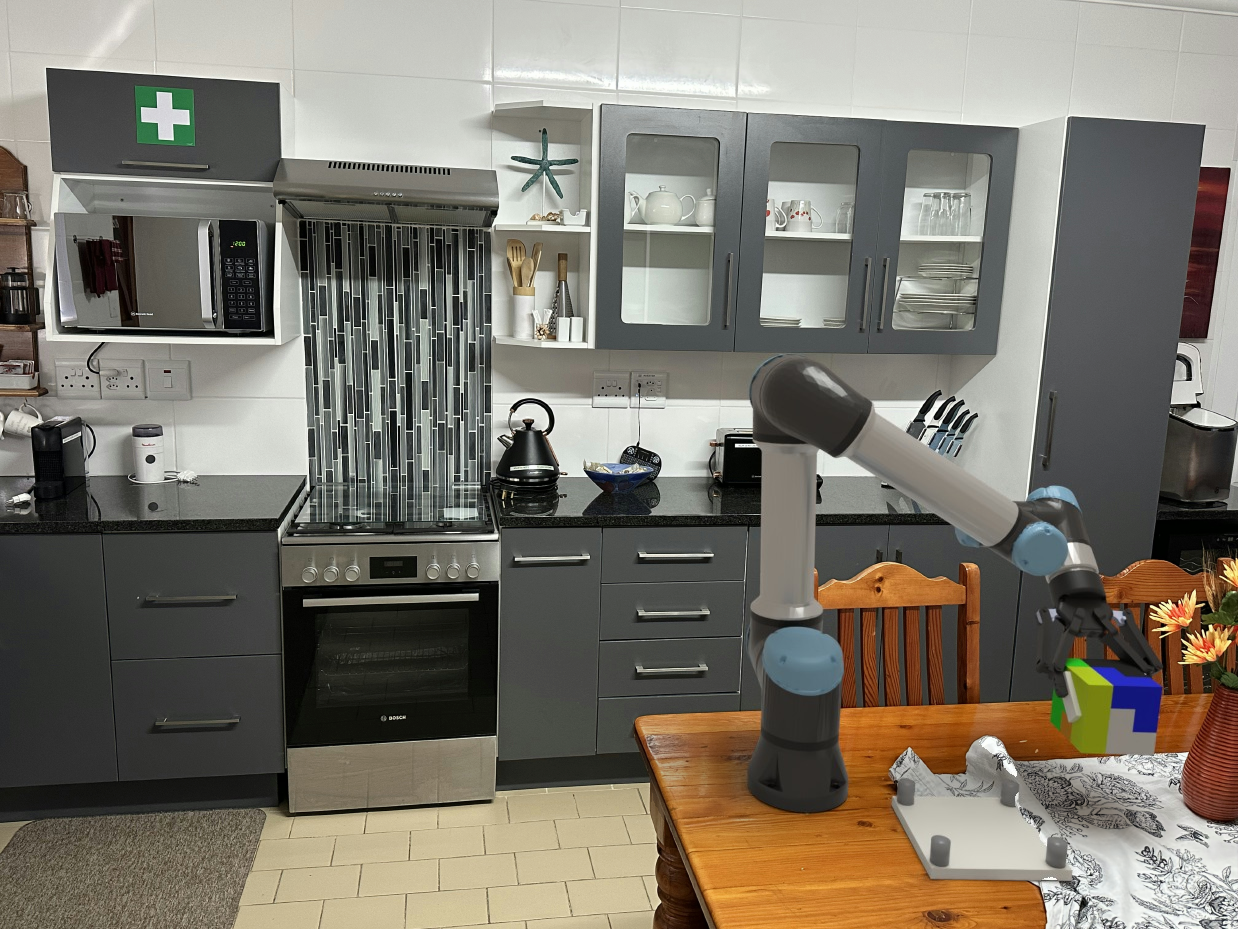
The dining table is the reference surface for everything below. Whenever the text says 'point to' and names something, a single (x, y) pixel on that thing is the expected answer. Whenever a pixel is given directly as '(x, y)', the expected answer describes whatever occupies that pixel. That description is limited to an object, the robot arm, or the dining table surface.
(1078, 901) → the dining table surface
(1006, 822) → the stub base
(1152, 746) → the puzzle toy
